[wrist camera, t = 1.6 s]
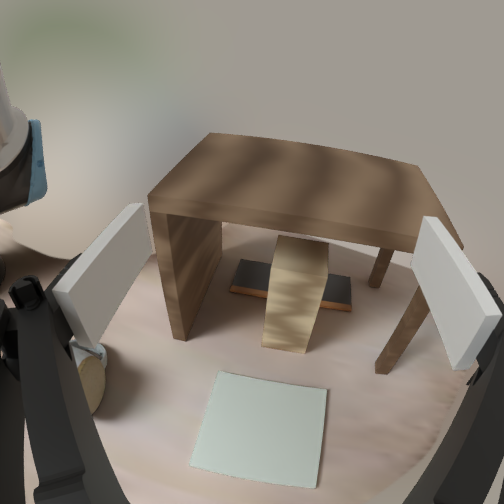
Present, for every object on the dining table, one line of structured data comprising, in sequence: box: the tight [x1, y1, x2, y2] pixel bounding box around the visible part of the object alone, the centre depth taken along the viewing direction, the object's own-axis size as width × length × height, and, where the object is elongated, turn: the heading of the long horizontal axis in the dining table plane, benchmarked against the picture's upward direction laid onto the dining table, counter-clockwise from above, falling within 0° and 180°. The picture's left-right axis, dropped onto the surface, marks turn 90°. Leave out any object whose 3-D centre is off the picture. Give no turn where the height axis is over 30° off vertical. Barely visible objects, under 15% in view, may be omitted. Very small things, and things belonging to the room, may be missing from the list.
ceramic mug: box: [69, 339, 107, 414], centre depth 27 cm, size 10×8×7 cm
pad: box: [189, 371, 327, 489], centre depth 27 cm, size 12×11×1 cm
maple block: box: [261, 235, 329, 354], centre depth 33 cm, size 5×5×12 cm
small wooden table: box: [148, 133, 464, 374], centre depth 34 cm, size 25×16×18 cm, turn 79°
